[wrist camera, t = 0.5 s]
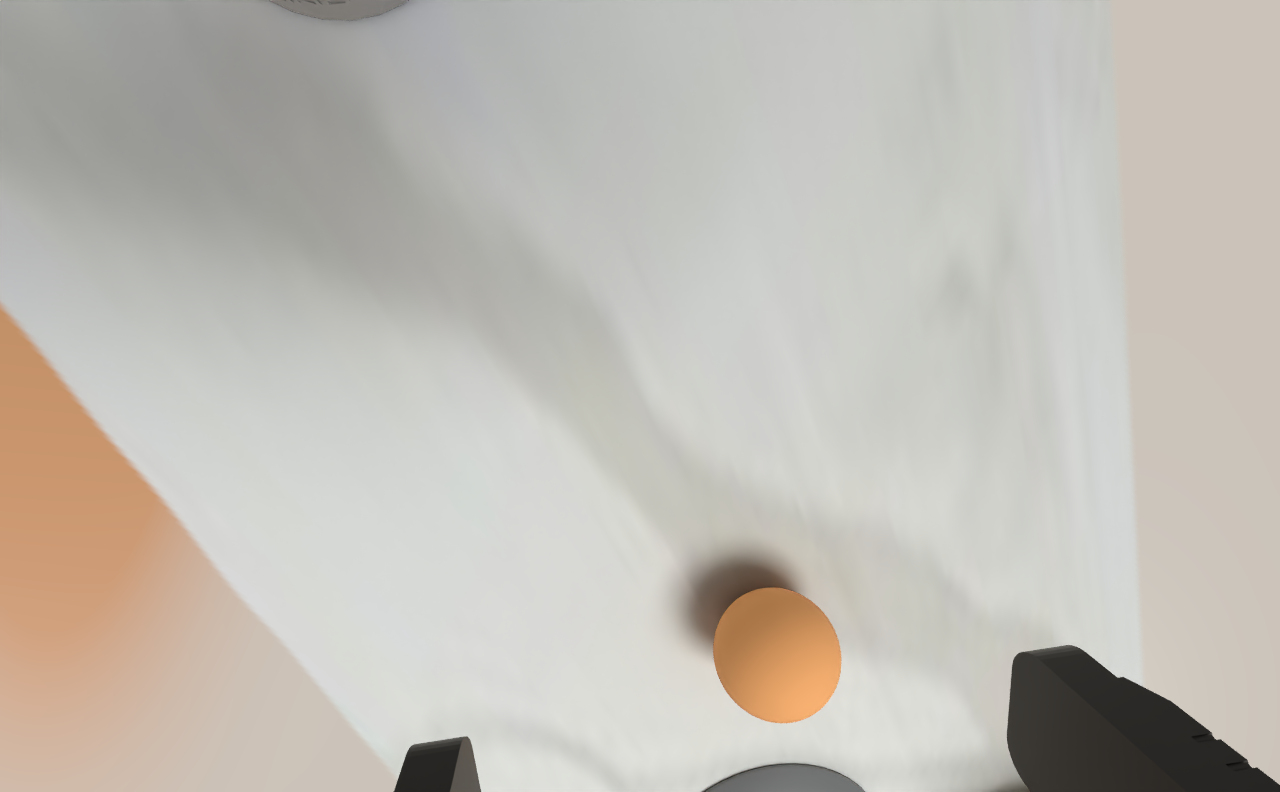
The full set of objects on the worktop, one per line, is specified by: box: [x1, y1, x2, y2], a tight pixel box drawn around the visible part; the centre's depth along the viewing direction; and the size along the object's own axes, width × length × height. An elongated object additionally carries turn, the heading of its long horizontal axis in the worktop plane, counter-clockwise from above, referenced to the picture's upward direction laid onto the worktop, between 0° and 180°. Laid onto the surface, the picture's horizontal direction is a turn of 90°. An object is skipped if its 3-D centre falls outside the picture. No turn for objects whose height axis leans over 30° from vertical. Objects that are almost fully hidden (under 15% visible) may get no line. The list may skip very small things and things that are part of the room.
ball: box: [713, 588, 841, 723], centre depth 27 cm, size 6×6×6 cm
